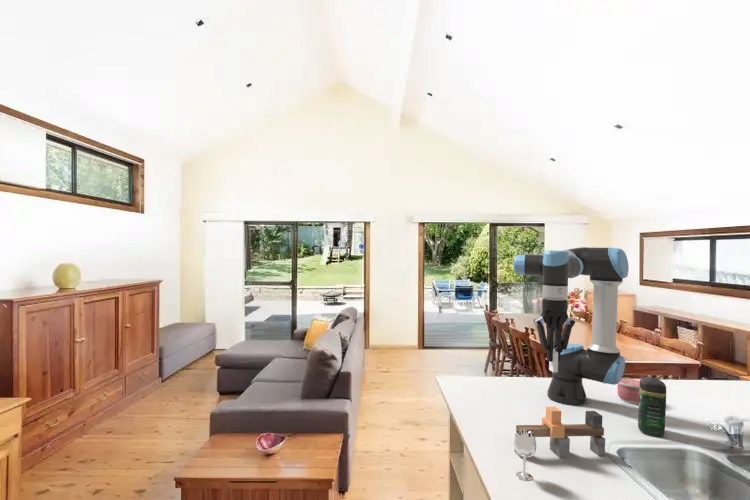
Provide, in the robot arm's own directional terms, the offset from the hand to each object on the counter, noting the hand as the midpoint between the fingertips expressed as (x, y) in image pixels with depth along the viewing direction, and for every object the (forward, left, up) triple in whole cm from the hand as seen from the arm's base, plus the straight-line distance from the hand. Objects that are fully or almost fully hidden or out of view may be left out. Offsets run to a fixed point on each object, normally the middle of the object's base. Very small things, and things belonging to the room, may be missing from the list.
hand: (553, 371), depth 136 cm
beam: (+5, 0, -24) cm, 25 cm away
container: (-38, +56, -24) cm, 72 cm away
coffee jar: (-9, +42, -24) cm, 49 cm away
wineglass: (+17, -17, -24) cm, 34 cm away
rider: (+5, -3, -18) cm, 19 cm away
